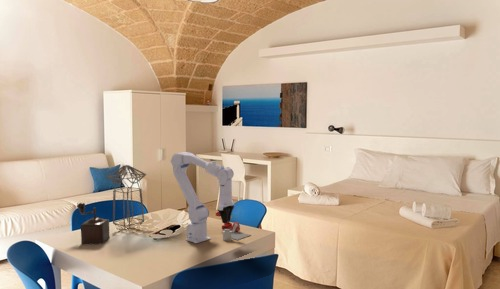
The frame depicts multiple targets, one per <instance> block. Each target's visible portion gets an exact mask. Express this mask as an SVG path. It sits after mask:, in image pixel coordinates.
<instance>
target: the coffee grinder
mask: <svg viewBox="0 0 500 289" xmlns="http://www.w3.org/2000/svg"><path fill="white" fill-rule="evenodd" d="M76 207H77V209H78V210H79V213H80V215H90V214H93V217H91V218H90V219H88V220H86V221H84V222H83V223H82V224H80V237H81V238H80V239H81V242H80V243H81V245H103V244H104V243H105V242H106V241H108V240H109V239H110V237H111V236H110V219H109V218H108V219H106V218H105V219H104V218H101V217H99V215H97V213H96V212H97V210H96V209H97V208H96V207H93V208H92V209H93V210H92V211H87V212H86V209H85V207H86V203H84V202H80V203H78V204H76Z"/></svg>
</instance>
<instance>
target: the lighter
mask: <svg viewBox="0 0 500 289" xmlns="http://www.w3.org/2000/svg"><path fill="white" fill-rule="evenodd" d="M236 227H237V224H235V225H234V227H233V229H232V231H229V229H225V230H223V231H222V240H223V241H232V240H233V239H232V233H234V232H235V229H236Z"/></svg>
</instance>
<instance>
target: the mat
mask: <svg viewBox="0 0 500 289" xmlns="http://www.w3.org/2000/svg"><path fill="white" fill-rule="evenodd" d="M247 236H248V237H251V236H252V235H251V234H248V233H245V232H241V231H236V232H234V233H233V232H232V240H234V241H240V240H242V239H245V238H247ZM239 239H240V240H239Z"/></svg>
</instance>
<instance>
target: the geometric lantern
mask: <svg viewBox="0 0 500 289" xmlns="http://www.w3.org/2000/svg"><path fill="white" fill-rule="evenodd" d="M115 173H117V174H115ZM114 174H115V175H114ZM128 174H129V175H130V177H127V175H128ZM146 176H147V173H145V172H143V171H142V170H141V171H140V170H139V169H137V168H135V167H133V166H131V165H129V164H124V165H123V166H121V167H119V168H118V169H116V170H115V171H113V172H111V173H109V174H108V175H106V178H108V179H109V180H110V181H111V182H112V183H113V185H114V189H113V191H112V192H113V194H112V195H113V199H112V200H113V201H112V211H113V212H112V224H113V225H115V226H116V225H118V226H121V227H123V228H127V227H129V228H130V227H133V226H134V225H135V224H138V225H139V224H140V226H141V225H142V224H143V223H145V218H144V216H145V215H144V203H143V192H142V189H143V188H142V184H141V180H142V179H143V178H145V177H146ZM130 179H131V180H132V181H131V180H130ZM124 180H127V181H129V182H130V183H131V186H130V187H129V186H128V184H127V183H126V182H125V181H124ZM121 182H124V184H125V185H126V187H121V185H120V183H121ZM134 184H137V186H138V188H137V187H133V185H134ZM117 185H118V187H119V188H118V189H116V188H117ZM123 189H125V190H126V189H127V191H126V192H125V191H124V190H123ZM134 189H136V190H134ZM132 190H133V191H132ZM133 192H139V199H140V207H141V215H142V218H137V217H134V208H133V207H134V206H133ZM116 193H121V194H122V196H123V198H122V201H123V202H122V204H123V206H122V207H123V218H122V219H121V218H120V219H118V220H115V216H116V213H115V212H116ZM129 193H130V199H131V200H130V202H131V215H130V206H129ZM125 194H126V200H127V202H126V206H127V207H126V206H125ZM125 207H126V208H125ZM125 209H126V210H125ZM125 211H126V214H125ZM125 216H126V217H125ZM130 216H131V217H130ZM133 219H134V220H138V221H139V222H136V223H132V221H133ZM126 220H127V222H128V223H129V224H128V225H125V224H126V222H125V221H126ZM121 221H123V224H120V223H117V222H121ZM130 222H131V224H130ZM135 226H136V225H135ZM129 228H128V229H129ZM123 231H124V230H120V232H121V233H124V232H123Z"/></svg>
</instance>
